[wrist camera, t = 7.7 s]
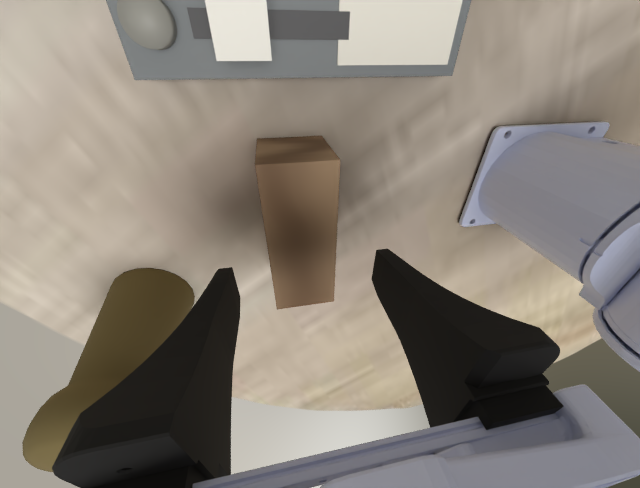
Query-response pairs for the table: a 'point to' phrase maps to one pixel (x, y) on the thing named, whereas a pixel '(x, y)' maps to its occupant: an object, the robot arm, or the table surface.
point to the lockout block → (299, 216)
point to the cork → (110, 353)
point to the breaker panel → (289, 38)
